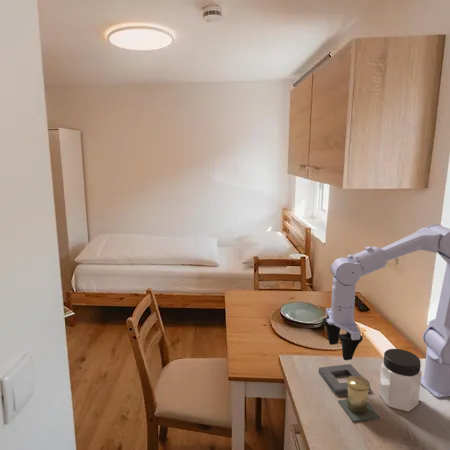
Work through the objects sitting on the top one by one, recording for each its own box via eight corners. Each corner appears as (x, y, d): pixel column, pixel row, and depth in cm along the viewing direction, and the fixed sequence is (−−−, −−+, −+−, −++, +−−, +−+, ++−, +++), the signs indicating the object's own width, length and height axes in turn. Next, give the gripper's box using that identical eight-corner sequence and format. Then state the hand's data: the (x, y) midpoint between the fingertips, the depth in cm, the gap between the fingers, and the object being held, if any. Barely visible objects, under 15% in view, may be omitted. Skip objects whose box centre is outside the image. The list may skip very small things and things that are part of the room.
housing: (350, 368, 100) (350, 363, 100) (370, 390, 91) (370, 385, 90) (318, 372, 99) (318, 367, 98) (335, 395, 89) (335, 390, 89)
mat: (363, 398, 88) (363, 397, 88) (379, 418, 81) (380, 416, 81) (338, 401, 86) (338, 400, 86) (352, 422, 80) (352, 420, 80)
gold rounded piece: (359, 399, 87) (360, 374, 86) (373, 413, 82) (374, 386, 81) (341, 403, 85) (342, 377, 84) (354, 417, 80) (355, 390, 79)
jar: (404, 416, 81) (408, 371, 79) (373, 397, 88) (376, 355, 86) (423, 402, 86) (428, 359, 84) (392, 385, 93) (396, 344, 91)
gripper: (316, 294, 95) (314, 339, 98) (342, 317, 81) (339, 368, 84) (339, 292, 97) (337, 336, 99) (369, 314, 83) (365, 365, 85)
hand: (340, 351), depth 92 cm, fingers open, 7 cm apart
